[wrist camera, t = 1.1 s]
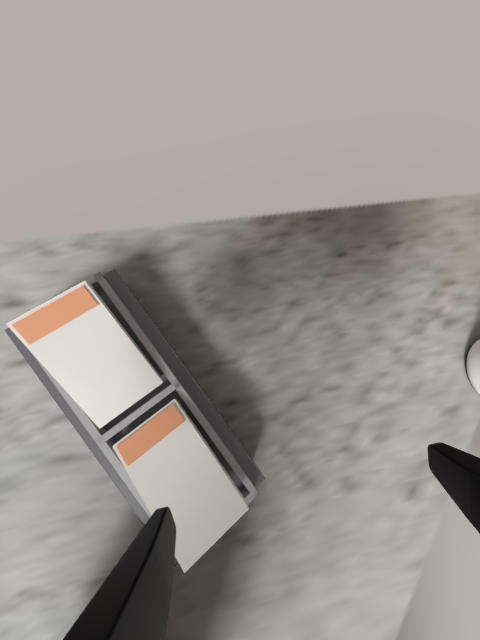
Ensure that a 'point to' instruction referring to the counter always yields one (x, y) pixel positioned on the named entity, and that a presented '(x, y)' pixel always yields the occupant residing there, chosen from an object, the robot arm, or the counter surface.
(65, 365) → the rocker
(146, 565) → the robot arm
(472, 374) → the white bottle
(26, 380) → the counter surface
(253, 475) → the rocker switch panel
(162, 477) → the block
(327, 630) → the counter surface
